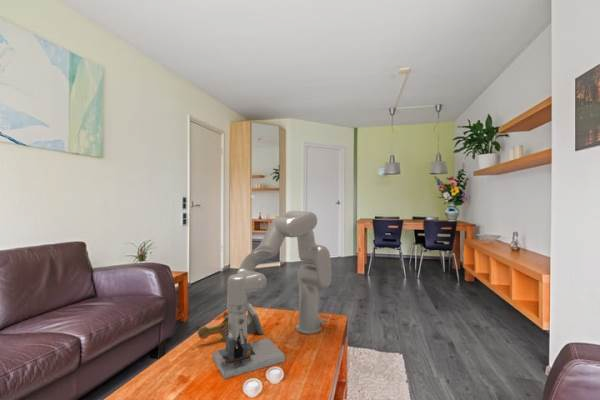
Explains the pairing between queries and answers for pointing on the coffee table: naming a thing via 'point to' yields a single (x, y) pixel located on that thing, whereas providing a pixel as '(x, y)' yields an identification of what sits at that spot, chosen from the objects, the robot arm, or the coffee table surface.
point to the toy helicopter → (216, 328)
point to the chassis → (250, 359)
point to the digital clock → (253, 321)
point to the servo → (230, 349)
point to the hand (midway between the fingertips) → (236, 353)
